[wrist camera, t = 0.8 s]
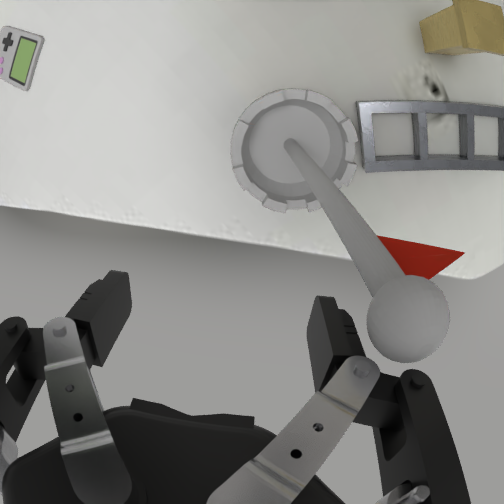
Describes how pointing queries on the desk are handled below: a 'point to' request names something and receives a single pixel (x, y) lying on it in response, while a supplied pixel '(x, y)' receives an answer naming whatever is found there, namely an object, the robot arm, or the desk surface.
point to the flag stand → (341, 213)
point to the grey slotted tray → (421, 139)
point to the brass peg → (465, 29)
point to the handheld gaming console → (19, 56)
